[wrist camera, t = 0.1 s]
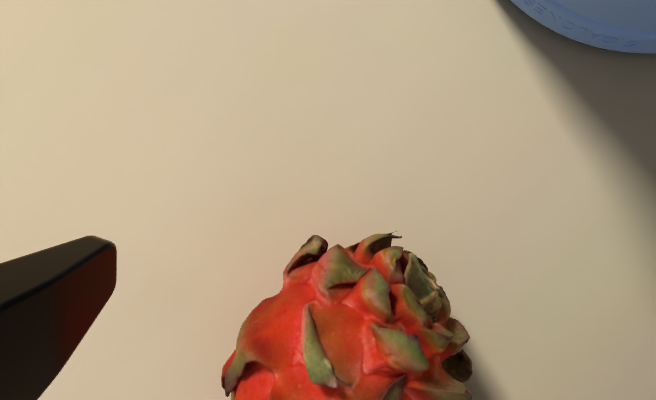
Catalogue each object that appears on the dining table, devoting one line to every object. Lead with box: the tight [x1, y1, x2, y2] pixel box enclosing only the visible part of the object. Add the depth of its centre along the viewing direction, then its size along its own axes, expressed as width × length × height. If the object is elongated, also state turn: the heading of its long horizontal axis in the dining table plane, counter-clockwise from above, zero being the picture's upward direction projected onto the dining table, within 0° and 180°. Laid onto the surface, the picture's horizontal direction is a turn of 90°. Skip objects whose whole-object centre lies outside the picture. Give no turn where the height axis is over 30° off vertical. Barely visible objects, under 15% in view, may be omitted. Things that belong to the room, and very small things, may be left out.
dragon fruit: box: [221, 231, 472, 400], centre depth 20 cm, size 8×8×12 cm
